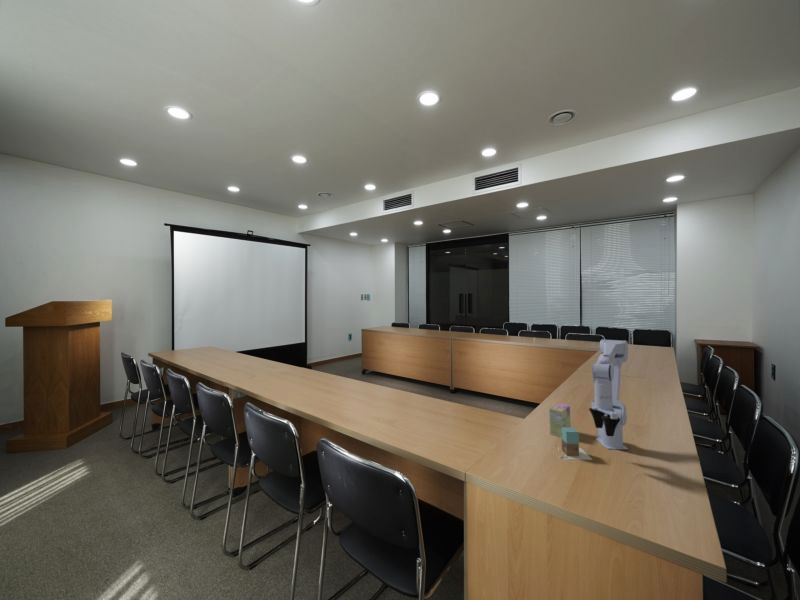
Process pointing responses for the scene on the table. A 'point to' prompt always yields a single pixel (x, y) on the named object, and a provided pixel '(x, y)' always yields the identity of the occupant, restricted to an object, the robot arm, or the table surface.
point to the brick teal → (570, 435)
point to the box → (559, 419)
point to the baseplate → (581, 456)
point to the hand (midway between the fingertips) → (604, 431)
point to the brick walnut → (570, 449)
